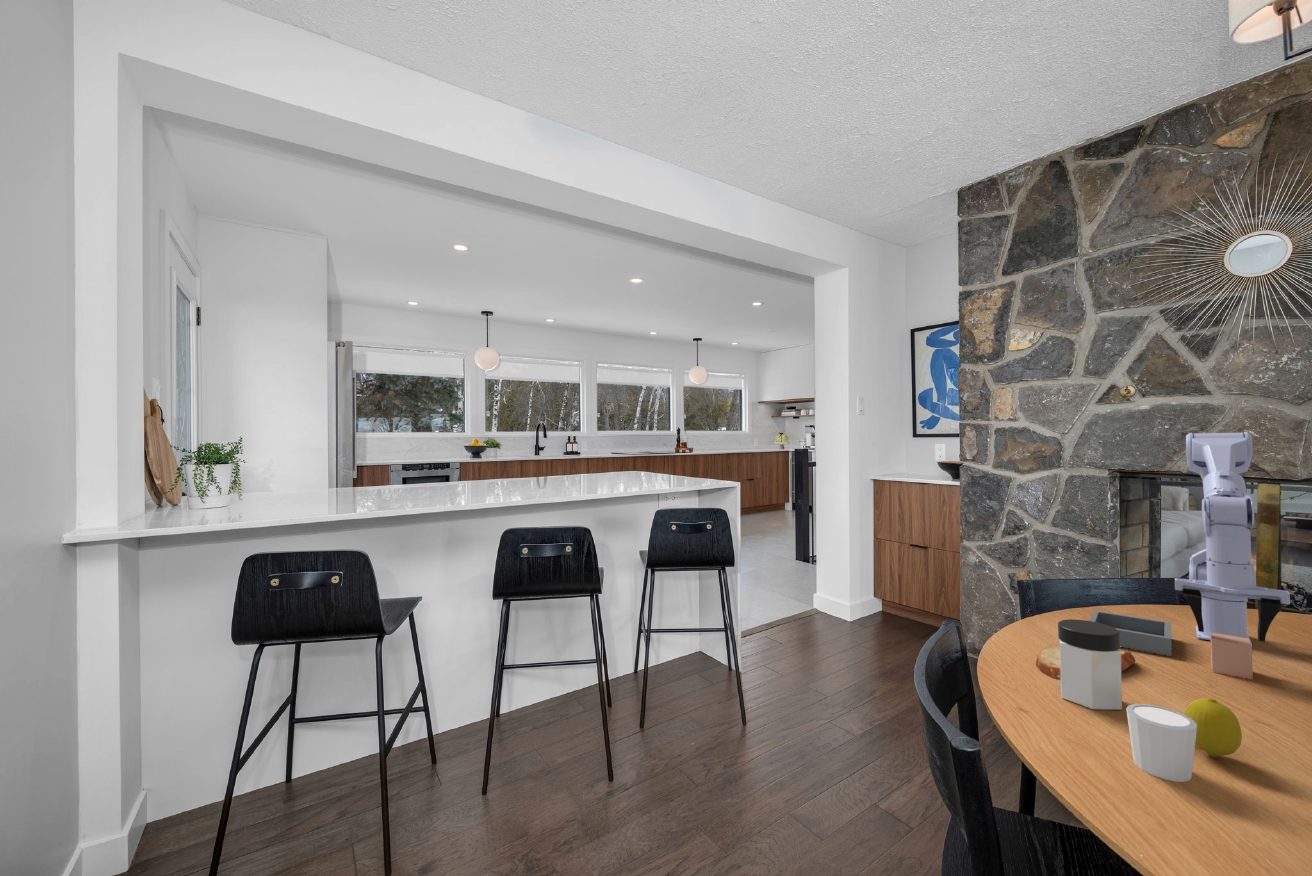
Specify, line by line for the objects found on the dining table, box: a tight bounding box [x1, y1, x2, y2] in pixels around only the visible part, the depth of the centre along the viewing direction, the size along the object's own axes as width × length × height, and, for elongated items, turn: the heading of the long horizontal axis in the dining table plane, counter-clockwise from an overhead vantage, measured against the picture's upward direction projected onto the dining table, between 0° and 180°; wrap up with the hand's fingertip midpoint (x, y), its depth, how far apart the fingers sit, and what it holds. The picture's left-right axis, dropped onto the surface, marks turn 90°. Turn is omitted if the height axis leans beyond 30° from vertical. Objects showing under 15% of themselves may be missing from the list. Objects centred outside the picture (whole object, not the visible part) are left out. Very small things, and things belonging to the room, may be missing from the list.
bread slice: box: [1035, 641, 1136, 681], centre depth 104 cm, size 18×18×4 cm
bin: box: [1088, 610, 1173, 657], centre depth 117 cm, size 13×13×4 cm
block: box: [1210, 632, 1254, 680], centre depth 100 cm, size 5×5×6 cm
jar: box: [1057, 618, 1123, 711], centre depth 91 cm, size 9×8×12 cm
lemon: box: [1184, 697, 1243, 758], centre depth 74 cm, size 6×6×8 cm
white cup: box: [1125, 703, 1197, 783], centre depth 72 cm, size 7×7×7 cm
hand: (1230, 635), depth 100 cm, fingers open, 7 cm apart
